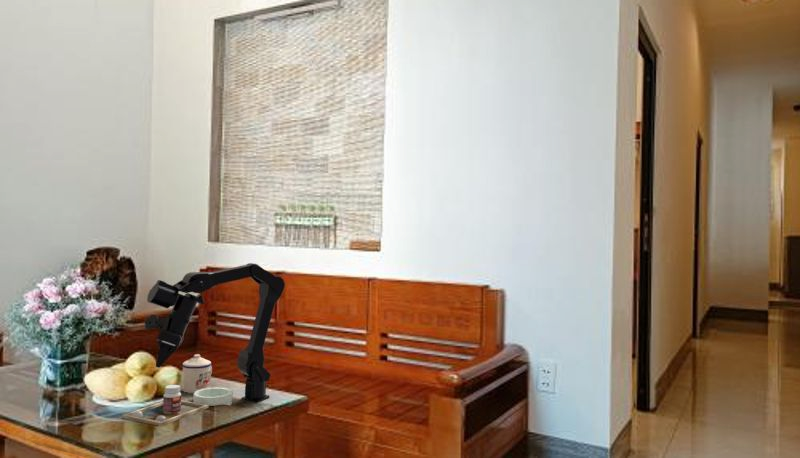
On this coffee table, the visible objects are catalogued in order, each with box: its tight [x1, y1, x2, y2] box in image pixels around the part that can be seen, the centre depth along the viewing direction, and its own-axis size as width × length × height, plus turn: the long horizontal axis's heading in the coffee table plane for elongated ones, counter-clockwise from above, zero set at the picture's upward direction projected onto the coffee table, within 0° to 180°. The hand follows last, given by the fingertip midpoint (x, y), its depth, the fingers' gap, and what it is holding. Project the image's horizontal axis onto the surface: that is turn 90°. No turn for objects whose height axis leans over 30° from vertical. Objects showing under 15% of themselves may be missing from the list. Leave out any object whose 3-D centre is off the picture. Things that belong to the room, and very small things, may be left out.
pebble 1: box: [132, 410, 144, 418], centre depth 163 cm, size 3×3×3 cm
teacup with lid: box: [181, 353, 213, 394], centre depth 197 cm, size 12×9×12 cm
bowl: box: [192, 387, 234, 407], centre depth 180 cm, size 11×11×4 cm
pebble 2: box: [154, 415, 167, 422], centre depth 160 cm, size 3×3×3 cm
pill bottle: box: [162, 384, 182, 414], centre depth 169 cm, size 5×5×8 cm
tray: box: [121, 399, 209, 427], centre depth 167 cm, size 18×14×2 cm
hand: (158, 365), depth 169 cm, fingers open, 9 cm apart
